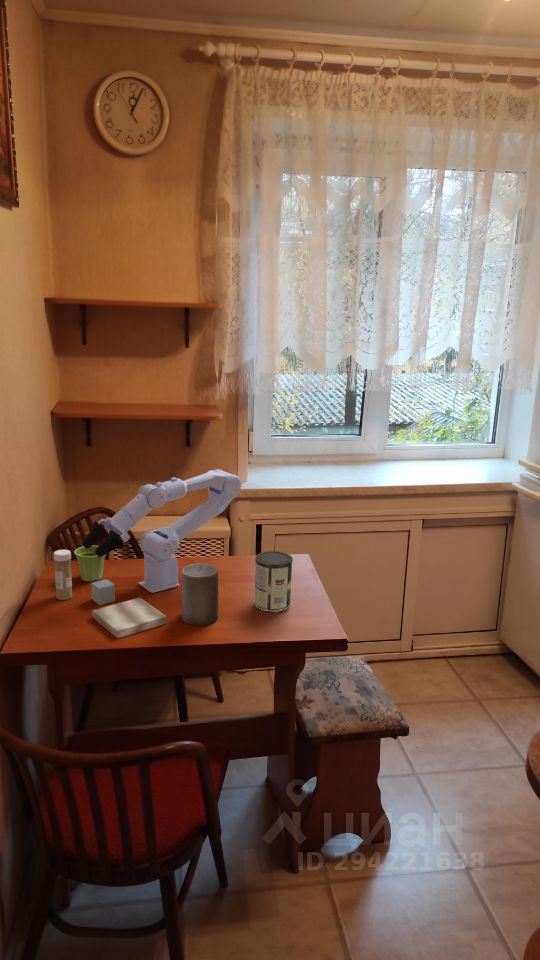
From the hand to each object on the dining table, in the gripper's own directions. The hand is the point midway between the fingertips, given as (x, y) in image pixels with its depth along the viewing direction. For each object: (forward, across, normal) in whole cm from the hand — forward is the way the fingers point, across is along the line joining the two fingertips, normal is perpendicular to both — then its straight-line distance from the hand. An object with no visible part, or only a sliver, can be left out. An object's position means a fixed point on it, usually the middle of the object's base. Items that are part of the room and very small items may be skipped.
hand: (90, 550), depth 184 cm
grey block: (+6, 0, +15) cm, 16 cm away
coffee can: (-25, +29, +35) cm, 52 cm away
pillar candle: (-8, +24, +24) cm, 35 cm away
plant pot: (+2, -16, +17) cm, 24 cm away
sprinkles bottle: (+12, -8, +11) cm, 18 cm away
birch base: (+6, +15, +15) cm, 22 cm away
